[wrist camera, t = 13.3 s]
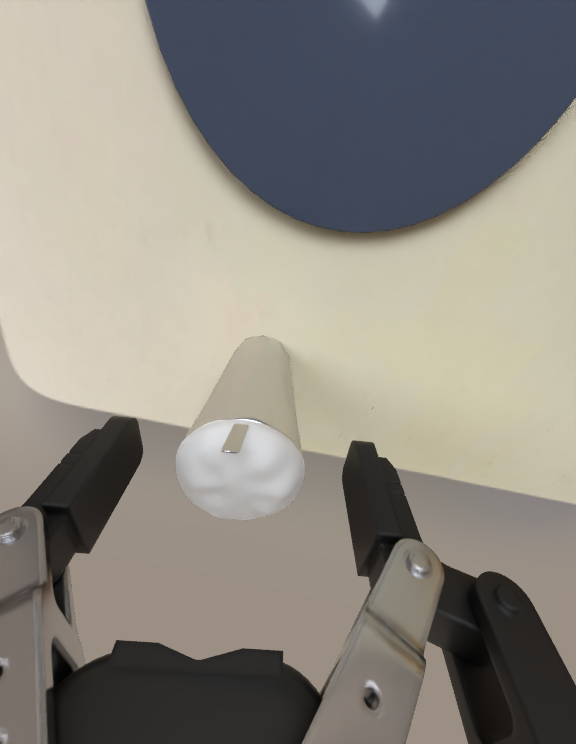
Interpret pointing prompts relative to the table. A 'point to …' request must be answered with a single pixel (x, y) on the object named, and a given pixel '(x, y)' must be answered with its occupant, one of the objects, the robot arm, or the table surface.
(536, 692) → the robot arm
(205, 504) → the milkshake
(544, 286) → the table surface
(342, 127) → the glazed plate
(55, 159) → the table surface
